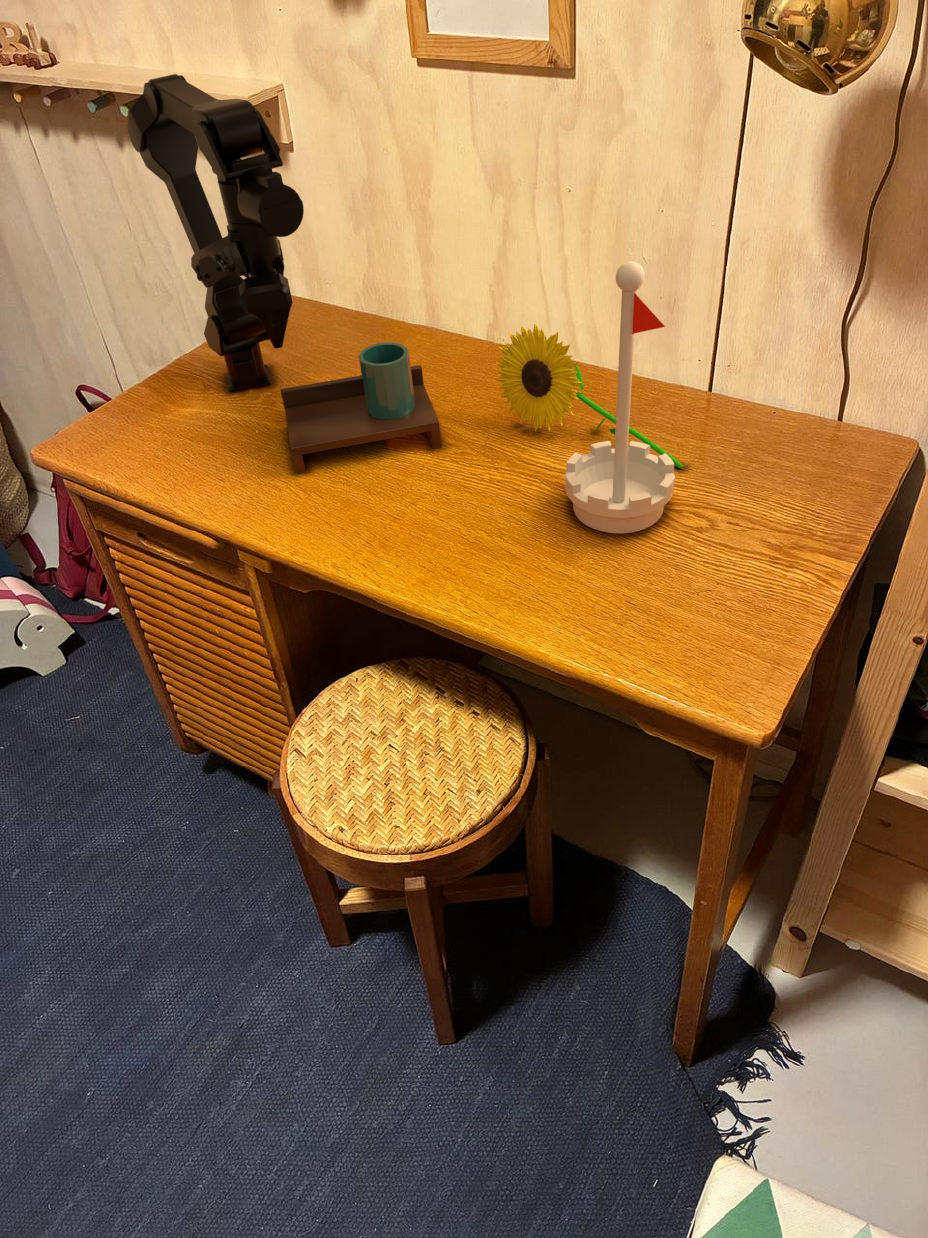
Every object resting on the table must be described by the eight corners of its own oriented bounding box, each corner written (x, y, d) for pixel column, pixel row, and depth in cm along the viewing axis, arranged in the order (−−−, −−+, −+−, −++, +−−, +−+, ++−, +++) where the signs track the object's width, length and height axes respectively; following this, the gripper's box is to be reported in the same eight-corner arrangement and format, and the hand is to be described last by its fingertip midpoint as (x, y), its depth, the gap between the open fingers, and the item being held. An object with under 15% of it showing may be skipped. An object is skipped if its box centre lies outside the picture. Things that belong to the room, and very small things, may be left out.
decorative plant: (714, 417, 113) (533, 295, 123) (692, 430, 110) (507, 303, 119) (664, 506, 123) (501, 387, 133) (642, 521, 120) (475, 397, 129)
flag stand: (543, 504, 114) (539, 264, 94) (618, 464, 119) (630, 228, 99) (617, 552, 106) (630, 301, 86) (695, 507, 111) (724, 260, 91)
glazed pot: (364, 400, 128) (355, 346, 123) (410, 392, 129) (403, 338, 124) (371, 423, 124) (362, 368, 118) (418, 414, 124) (412, 360, 119)
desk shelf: (289, 429, 132) (280, 388, 128) (425, 405, 134) (420, 364, 130) (296, 474, 123) (286, 431, 119) (441, 447, 125) (437, 404, 121)
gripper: (185, 202, 121) (215, 315, 132) (184, 252, 108) (218, 373, 118) (269, 189, 122) (292, 302, 133) (279, 237, 109) (304, 359, 119)
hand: (275, 333), depth 126 cm, fingers open, 9 cm apart
